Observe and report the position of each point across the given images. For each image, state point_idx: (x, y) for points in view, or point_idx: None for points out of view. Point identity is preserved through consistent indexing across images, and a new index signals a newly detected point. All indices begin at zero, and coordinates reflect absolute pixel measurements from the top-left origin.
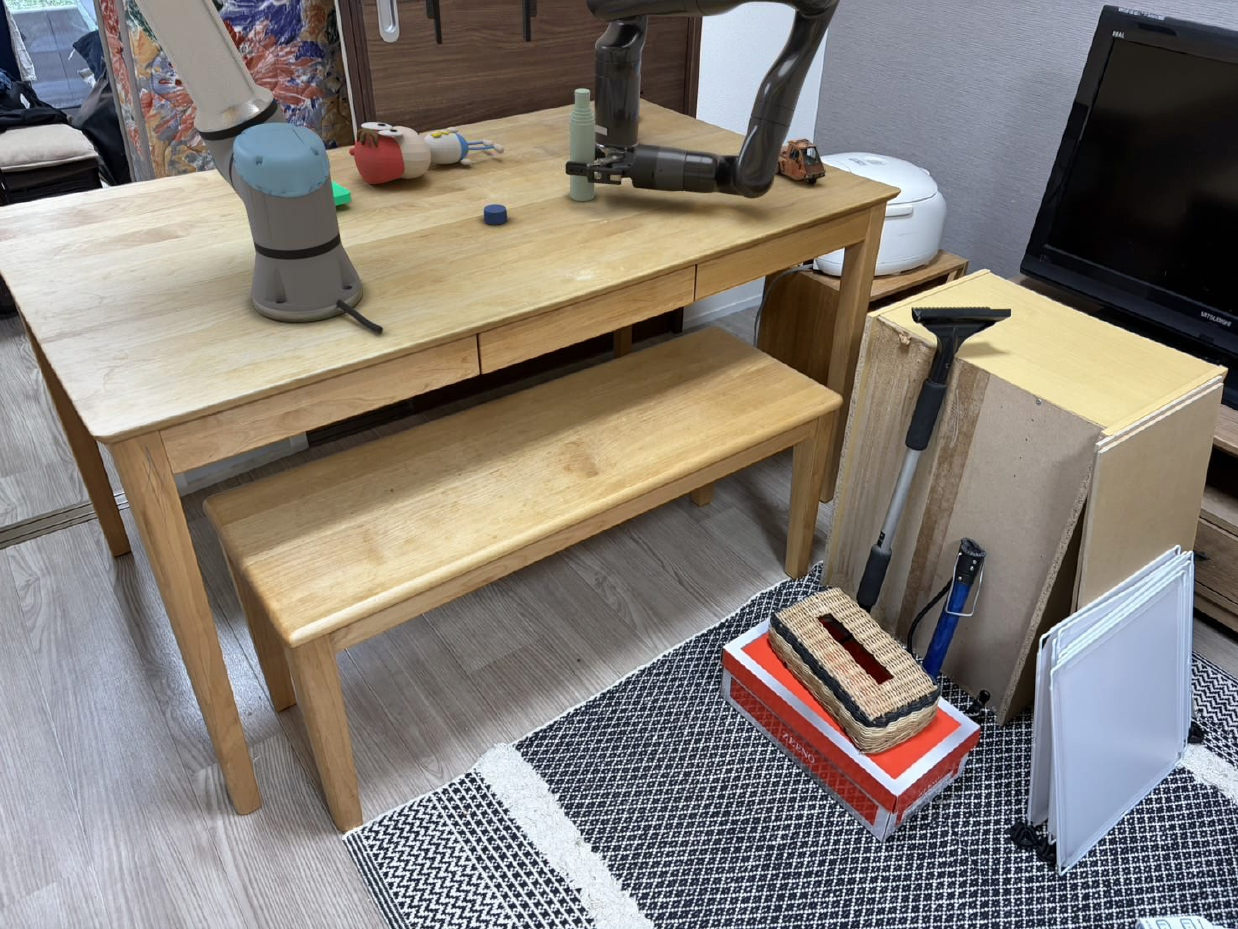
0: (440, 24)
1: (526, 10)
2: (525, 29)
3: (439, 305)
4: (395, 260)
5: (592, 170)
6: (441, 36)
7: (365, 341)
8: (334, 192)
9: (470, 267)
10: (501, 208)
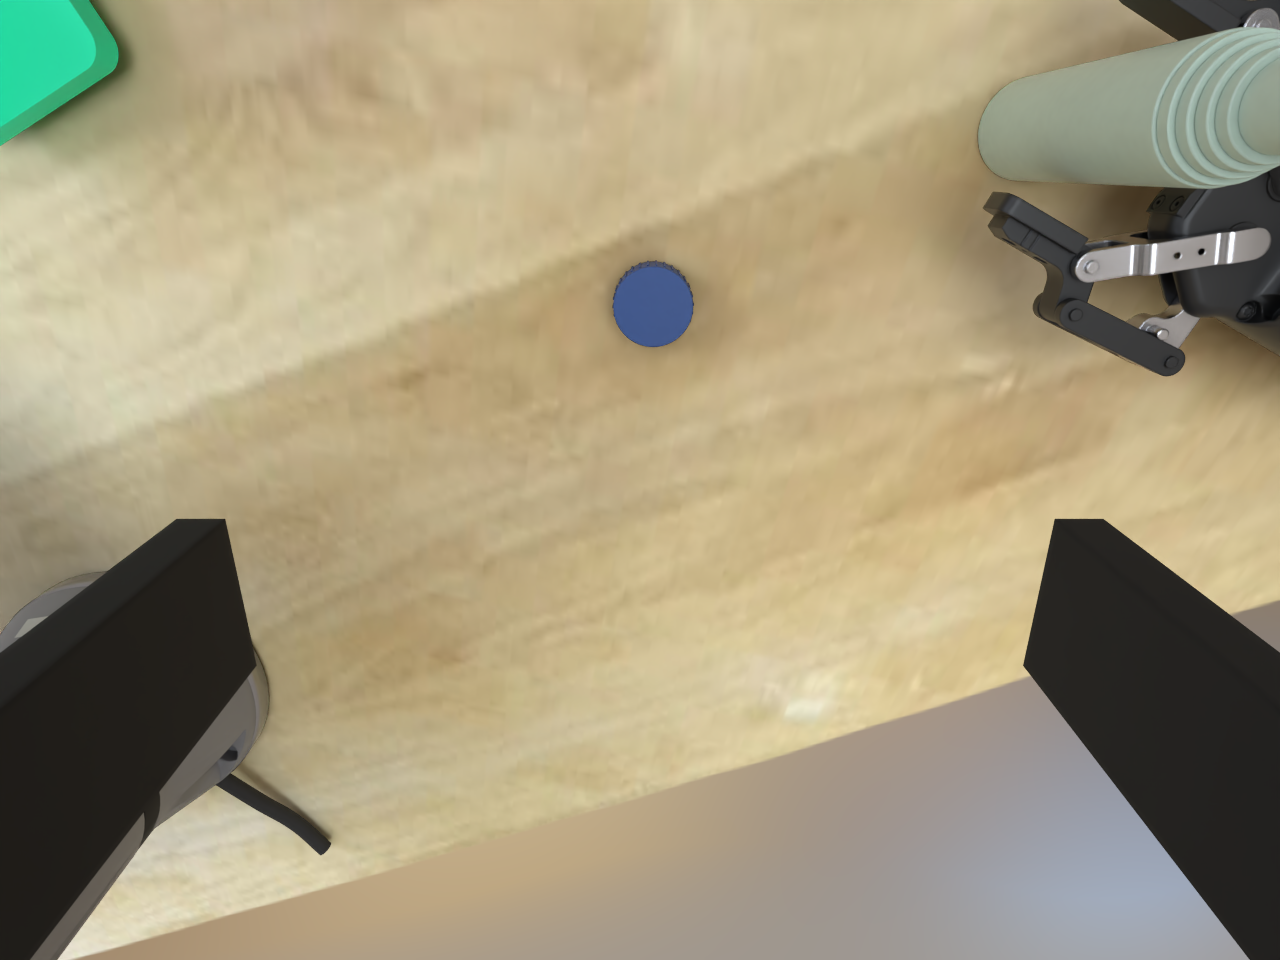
0: (162, 785)
1: (1209, 896)
2: (1079, 714)
3: (448, 760)
4: (334, 524)
5: (1070, 330)
6: (224, 706)
7: (301, 855)
8: (31, 40)
9: (534, 603)
10: (675, 312)
